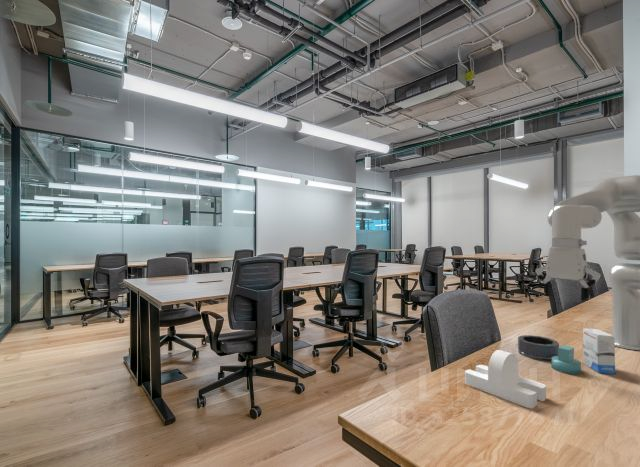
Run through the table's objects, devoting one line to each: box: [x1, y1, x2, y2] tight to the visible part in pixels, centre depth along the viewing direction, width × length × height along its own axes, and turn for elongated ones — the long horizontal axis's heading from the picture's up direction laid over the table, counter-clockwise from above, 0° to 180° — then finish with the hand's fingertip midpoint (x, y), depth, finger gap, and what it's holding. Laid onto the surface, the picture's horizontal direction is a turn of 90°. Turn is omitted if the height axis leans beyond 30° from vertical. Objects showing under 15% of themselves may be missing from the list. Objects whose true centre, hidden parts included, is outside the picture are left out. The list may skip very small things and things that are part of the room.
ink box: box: [582, 328, 616, 375], centre depth 109 cm, size 9×5×12 cm, turn 168°
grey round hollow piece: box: [517, 334, 560, 362], centre depth 122 cm, size 12×12×5 cm
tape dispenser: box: [464, 349, 547, 409], centre depth 94 cm, size 10×18×11 cm, turn 36°
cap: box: [551, 345, 582, 375], centre depth 109 cm, size 8×8×7 cm
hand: (565, 298), depth 109 cm, fingers open, 9 cm apart
